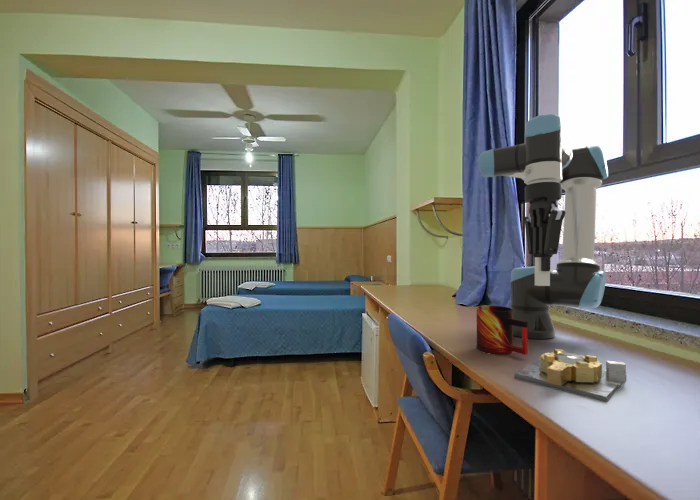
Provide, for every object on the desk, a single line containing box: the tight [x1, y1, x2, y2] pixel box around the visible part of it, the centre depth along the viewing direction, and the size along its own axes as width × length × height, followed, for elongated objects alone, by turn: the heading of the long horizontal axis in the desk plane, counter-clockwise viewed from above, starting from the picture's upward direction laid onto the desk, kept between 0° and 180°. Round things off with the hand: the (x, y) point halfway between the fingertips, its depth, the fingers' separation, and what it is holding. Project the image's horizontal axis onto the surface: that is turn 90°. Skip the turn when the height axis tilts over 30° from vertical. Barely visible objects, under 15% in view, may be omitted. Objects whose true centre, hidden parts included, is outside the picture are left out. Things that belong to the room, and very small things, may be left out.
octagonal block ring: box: [539, 348, 603, 386], centre depth 76 cm, size 16×11×4 cm
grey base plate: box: [514, 352, 627, 403], centre depth 77 cm, size 17×18×5 cm
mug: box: [476, 305, 529, 356], centre depth 99 cm, size 10×14×12 cm
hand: (542, 285), depth 80 cm, fingers closed
